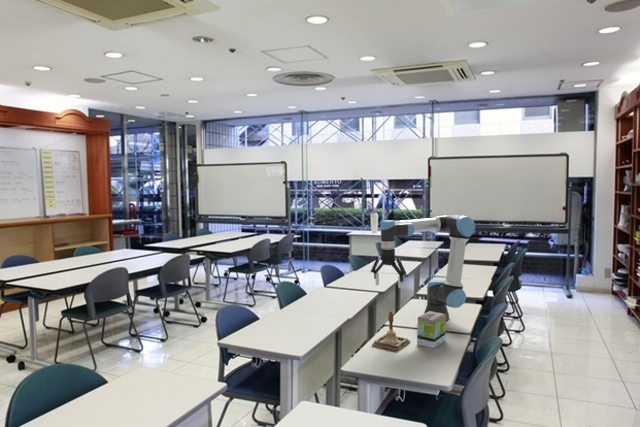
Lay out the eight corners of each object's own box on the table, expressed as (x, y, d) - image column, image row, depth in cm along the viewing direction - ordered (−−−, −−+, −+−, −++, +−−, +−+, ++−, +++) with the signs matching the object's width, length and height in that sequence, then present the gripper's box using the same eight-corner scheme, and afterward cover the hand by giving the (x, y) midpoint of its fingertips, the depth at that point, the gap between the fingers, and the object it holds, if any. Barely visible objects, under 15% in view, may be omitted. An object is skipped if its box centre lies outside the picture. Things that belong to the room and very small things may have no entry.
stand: (385, 337, 242) (385, 333, 242) (409, 342, 234) (410, 338, 234) (371, 346, 229) (371, 341, 229) (396, 352, 221) (396, 347, 221)
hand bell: (386, 345, 227) (386, 314, 226) (380, 339, 235) (381, 310, 234) (401, 344, 228) (402, 313, 227) (395, 338, 236) (395, 309, 235)
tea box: (434, 349, 225) (435, 320, 224) (416, 344, 231) (416, 316, 230) (446, 340, 237) (446, 313, 236) (428, 336, 243) (428, 310, 242)
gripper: (364, 247, 249) (365, 285, 251) (406, 250, 236) (407, 290, 237) (370, 246, 255) (371, 282, 257) (412, 248, 242) (412, 287, 243)
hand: (388, 286), depth 247 cm, fingers open, 13 cm apart
